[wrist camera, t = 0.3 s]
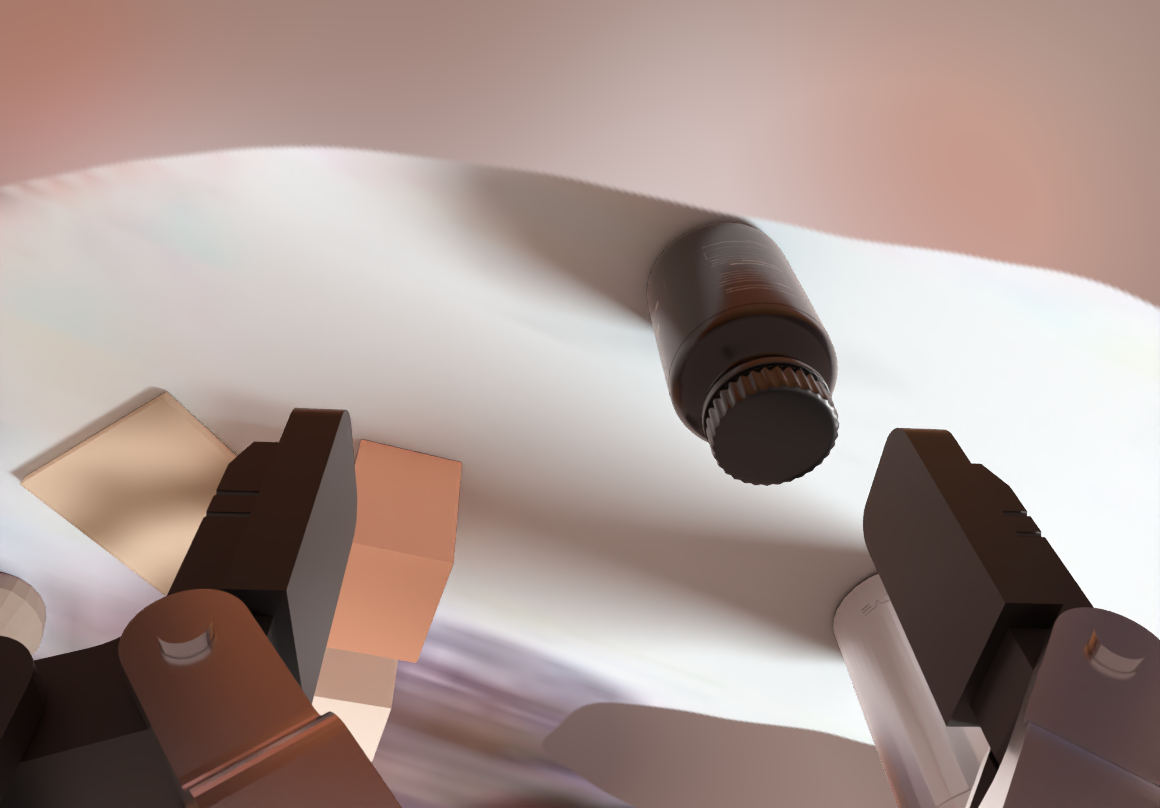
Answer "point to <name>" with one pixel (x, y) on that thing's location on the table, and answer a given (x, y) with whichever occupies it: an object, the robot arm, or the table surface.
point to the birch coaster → (139, 486)
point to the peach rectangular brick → (397, 551)
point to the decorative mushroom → (21, 612)
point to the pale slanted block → (357, 693)
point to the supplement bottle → (744, 353)
